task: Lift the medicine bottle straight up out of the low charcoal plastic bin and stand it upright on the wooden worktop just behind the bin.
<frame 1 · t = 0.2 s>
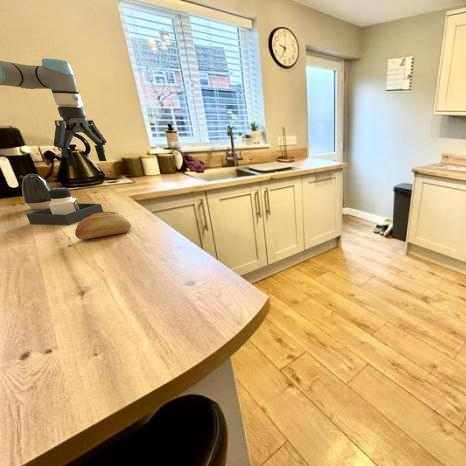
hand: (88, 163, 117), 21 cm above the counter, tool pointing down, fingers open, 13 cm apart
bin: (69, 218, 117), on the counter
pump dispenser: (44, 208, 129), on the counter
bread roll: (106, 235, 100), on the counter
medicine bottle: (69, 218, 117), resting in bin
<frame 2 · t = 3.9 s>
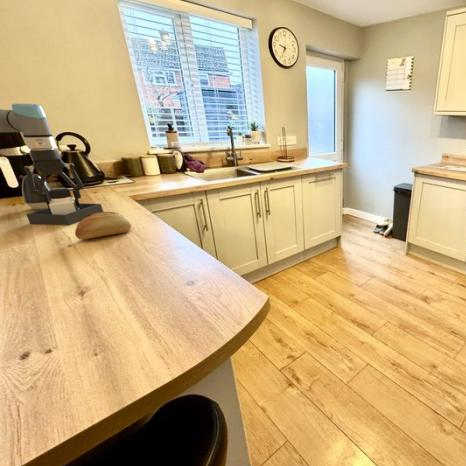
hand: (65, 208, 115), 4 cm above the counter, tool pointing down, fingers closed on medicine bottle, 8 cm apart
medicine bottle: (69, 218, 117), resting in bin, touching gripper
everything else where it was.
when the fingers open (4 cm above the counter, at t = 10.8 s): medicine bottle stays where it is, on the counter.
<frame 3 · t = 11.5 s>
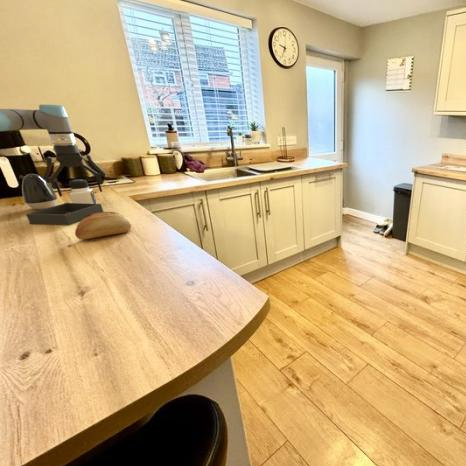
hand: (81, 193, 130), 6 cm above the counter, tool pointing down, fingers open, 13 cm apart
medicine bottle: (86, 206, 132), on the counter
everything else where it was.
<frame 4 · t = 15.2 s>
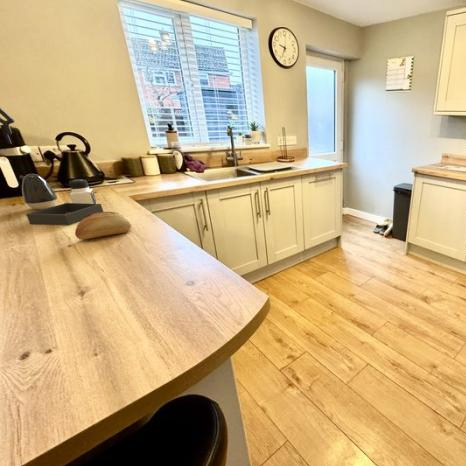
nothing on the counter moved.
at the end: medicine bottle inside the target area (0.1 cm from its centre), on the counter; medicine bottle tilted 0°; the gripper is holding nothing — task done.
